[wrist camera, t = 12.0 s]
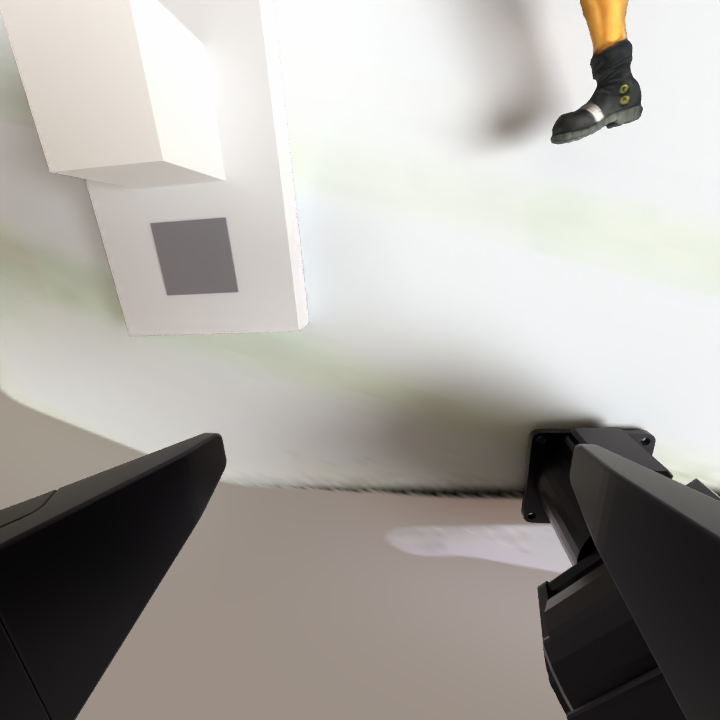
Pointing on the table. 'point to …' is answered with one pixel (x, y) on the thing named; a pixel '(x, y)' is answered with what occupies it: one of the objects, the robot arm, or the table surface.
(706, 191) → the table surface
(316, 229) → the table surface
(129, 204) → the power strip
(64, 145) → the block
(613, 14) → the action figure
